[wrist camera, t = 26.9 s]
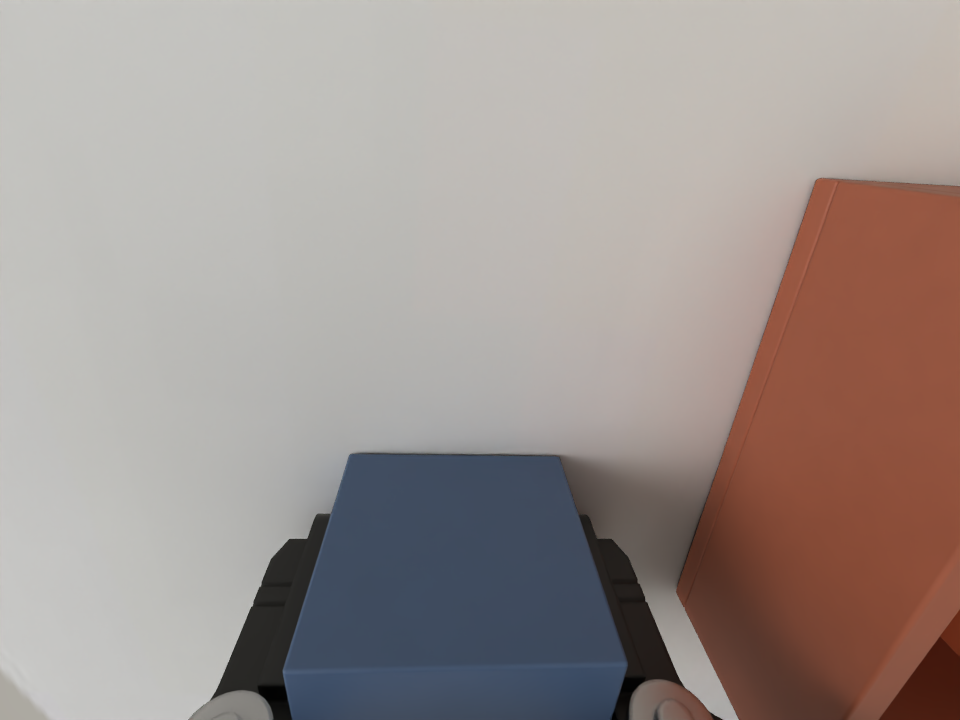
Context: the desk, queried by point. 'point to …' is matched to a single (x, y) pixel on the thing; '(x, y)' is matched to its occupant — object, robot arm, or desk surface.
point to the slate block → (454, 598)
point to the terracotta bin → (844, 474)
